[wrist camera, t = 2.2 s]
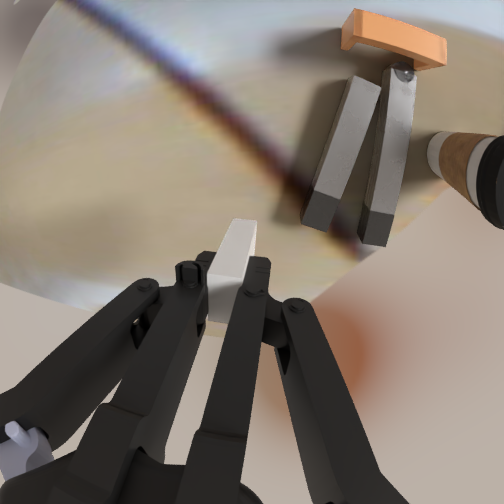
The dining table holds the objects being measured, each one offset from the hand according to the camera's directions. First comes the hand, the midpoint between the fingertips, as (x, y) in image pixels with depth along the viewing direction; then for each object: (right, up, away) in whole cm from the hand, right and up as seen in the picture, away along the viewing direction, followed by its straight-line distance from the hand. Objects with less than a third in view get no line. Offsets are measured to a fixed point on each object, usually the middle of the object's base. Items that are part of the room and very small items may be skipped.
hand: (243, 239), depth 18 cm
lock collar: (+15, +22, +4) cm, 27 cm away
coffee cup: (+24, +11, +9) cm, 28 cm away
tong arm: (+10, +10, +11) cm, 18 cm away
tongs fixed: (+16, +11, +10) cm, 21 cm away
